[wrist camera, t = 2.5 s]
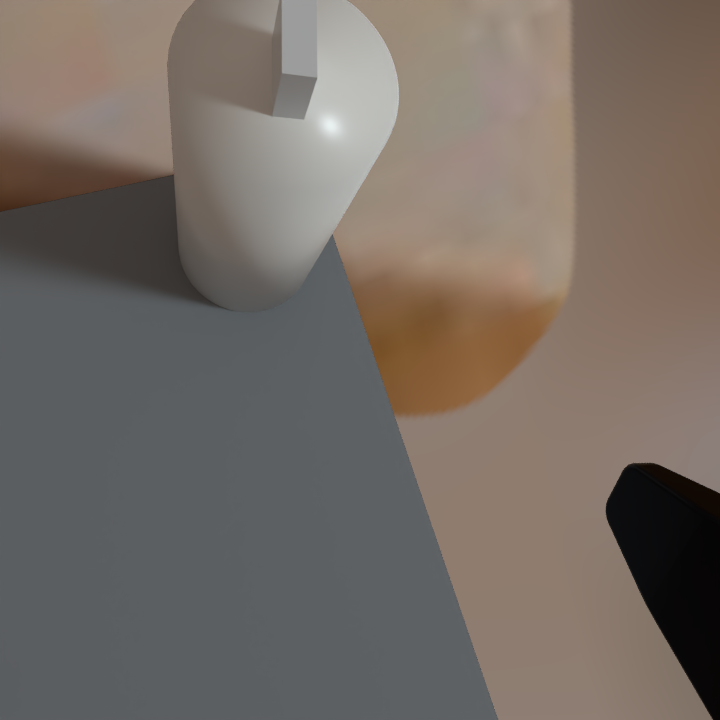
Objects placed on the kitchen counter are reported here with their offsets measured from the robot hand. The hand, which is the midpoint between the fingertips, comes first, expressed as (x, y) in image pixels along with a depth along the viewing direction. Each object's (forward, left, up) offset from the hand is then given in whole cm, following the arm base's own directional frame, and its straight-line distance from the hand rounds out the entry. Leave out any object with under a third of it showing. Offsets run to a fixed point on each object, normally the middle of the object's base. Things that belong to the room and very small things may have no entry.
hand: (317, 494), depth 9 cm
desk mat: (-1, +4, -14) cm, 14 cm away
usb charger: (+7, -2, -13) cm, 15 cm away
